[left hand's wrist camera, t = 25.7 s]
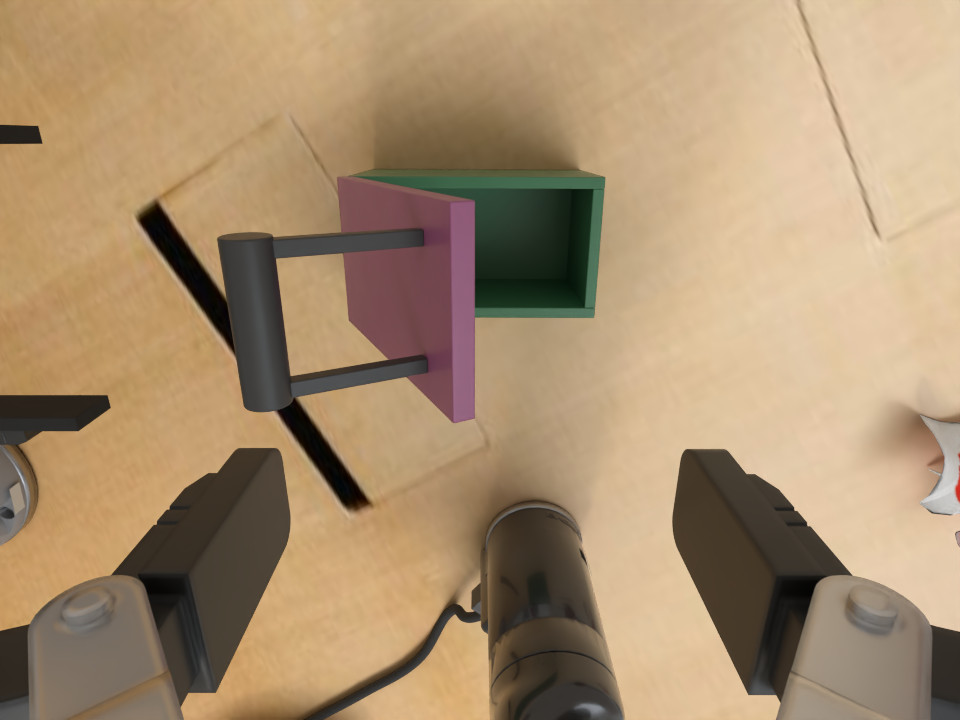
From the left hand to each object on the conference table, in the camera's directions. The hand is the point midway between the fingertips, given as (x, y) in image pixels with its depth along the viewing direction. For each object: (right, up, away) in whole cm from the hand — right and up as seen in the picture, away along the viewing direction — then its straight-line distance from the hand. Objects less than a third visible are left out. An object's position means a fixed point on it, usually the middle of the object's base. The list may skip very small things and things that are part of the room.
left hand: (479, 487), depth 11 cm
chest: (0, +13, +34) cm, 37 cm away
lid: (-4, +7, +18) cm, 20 cm away
